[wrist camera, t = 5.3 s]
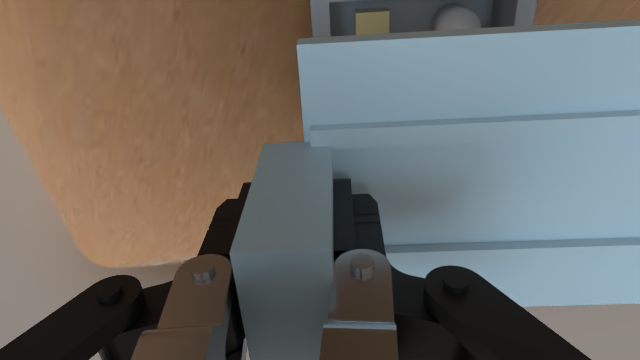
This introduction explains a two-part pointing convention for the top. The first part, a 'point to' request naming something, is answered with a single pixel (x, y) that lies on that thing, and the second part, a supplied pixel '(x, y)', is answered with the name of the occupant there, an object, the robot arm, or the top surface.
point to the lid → (452, 170)
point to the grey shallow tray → (415, 15)
